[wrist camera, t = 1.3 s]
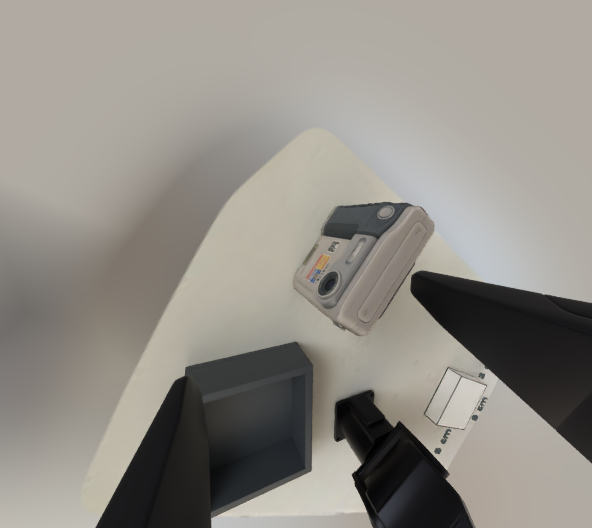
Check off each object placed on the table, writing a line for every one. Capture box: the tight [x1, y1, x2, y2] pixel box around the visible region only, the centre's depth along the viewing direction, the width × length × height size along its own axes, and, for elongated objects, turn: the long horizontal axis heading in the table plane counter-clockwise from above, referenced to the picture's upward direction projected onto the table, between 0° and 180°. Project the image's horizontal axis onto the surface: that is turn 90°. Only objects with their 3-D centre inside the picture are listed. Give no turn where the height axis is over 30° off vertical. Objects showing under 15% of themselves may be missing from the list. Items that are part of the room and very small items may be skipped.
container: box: [425, 366, 488, 454], centre depth 41 cm, size 20×12×3 cm, turn 152°
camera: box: [293, 202, 434, 336], centre depth 21 cm, size 11×6×10 cm, turn 142°
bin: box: [185, 342, 313, 518], centre depth 24 cm, size 14×12×5 cm
